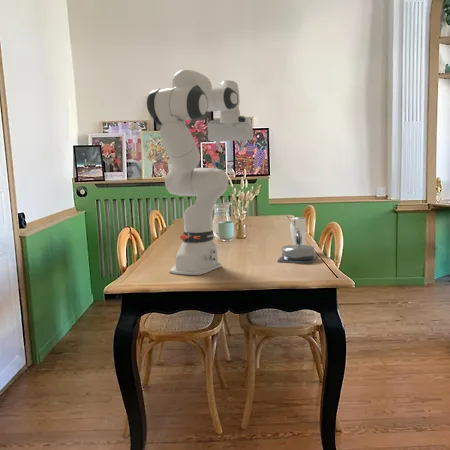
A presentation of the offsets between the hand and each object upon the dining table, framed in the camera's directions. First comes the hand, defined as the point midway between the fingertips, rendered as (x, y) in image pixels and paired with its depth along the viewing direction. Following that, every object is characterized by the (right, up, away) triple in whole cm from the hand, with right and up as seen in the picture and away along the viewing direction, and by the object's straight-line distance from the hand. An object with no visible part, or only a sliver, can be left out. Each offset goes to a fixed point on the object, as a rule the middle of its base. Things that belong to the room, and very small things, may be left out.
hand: (230, 151), depth 216 cm
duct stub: (+28, -47, -15) cm, 57 cm away
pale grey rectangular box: (+30, -45, +1) cm, 54 cm away
